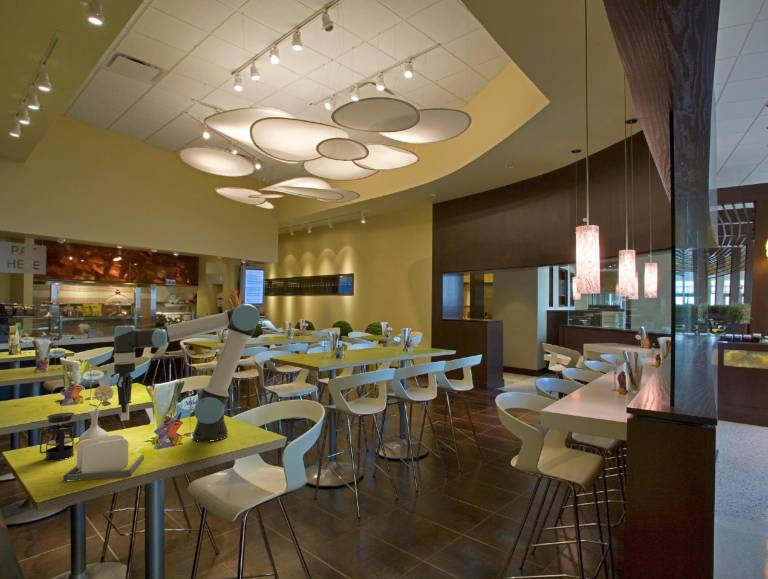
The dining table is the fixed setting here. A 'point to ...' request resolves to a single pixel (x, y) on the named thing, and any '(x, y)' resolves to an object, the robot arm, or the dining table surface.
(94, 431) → the flower in vase
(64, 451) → the french press
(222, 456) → the dining table surface
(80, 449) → the white napkin holder
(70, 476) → the frame
